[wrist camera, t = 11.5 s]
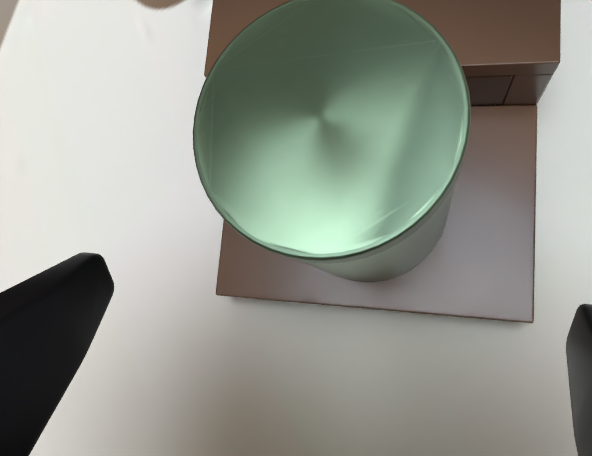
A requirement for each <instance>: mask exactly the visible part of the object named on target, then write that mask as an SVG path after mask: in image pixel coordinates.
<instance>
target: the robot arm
mask: <svg viewBox="0 0 592 456" xmlns="http://www.w3.org/2000/svg"><path fill="white" fill-rule="evenodd" d="M113 292H114V282H113V280H112V277H111V275H110V272H109V270H108V267H107V265H106V262H105V260H104V258H103V257H102V256H101V255H99V254H95V253H79V254H77V255H75V256H73V257H71V258H69V259H67V260H65V261H63V262H61V263H59V264H57V265H55V266H53V267H51V268H49V269H47V270H45V271H43V272H41V273H39V274H37V275H35V276H33V277H31V278H29V279H27V280H25V281H23V282H21V283H19V284H17V285H15V286H13V287H11V288H9V289H7V290H5V291H3V292H1V293H0V456H29V454H30V453H31V451H32V449H33V447H34V446H35V444H36V442H37V440H38V439H39V437H40V435H41V433H42V432H43V430H44V428H45V426H46V425H47V423H48V421H49V419H50V418H51V416H52V414H53V412H54V411H55V409H56V407H57V405H58V404H59V402H60V400H61V398H62V397H63V395H64V393H65V391H66V390H67V388H68V386H69V384H70V383H71V381H72V379H73V377H74V375H75V374H76V372H77V370H78V368H79V367H80V365H81V363H82V361H83V359H84V357H85V355H86V353H87V351H88V349H89V347H90V345H91V343H92V340H93V338H94V336H95V334H96V331H97V329H98V327H99V325H100V322H101V320H102V318H103V316H104V313H105V311H106V309H107V307H108V304H109V302H110V300H111V298H112V295H113ZM566 355H567V366H568V376H569V387H570V397H571V408H572V418H573V428H574V436H575V442H576V447H577V452H578V456H592V305H590V304H582V305H580V306H579V307H578V309H577V311H576V314H575V317H574V319H573V322H572V325H571V328H570V331H569V334H568V337H567V342H566Z"/></svg>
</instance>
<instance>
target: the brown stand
mask: <svg viewBox="0 0 592 456" xmlns="http://www.w3.org/2000/svg"><path fill="white" fill-rule="evenodd" d="M288 1H291V0H213V6H212V14H211V23H210V31H209V39H208V48H207V56H206V64H205V73H204V76H205V77H206V78H207V76H208V74H209V72H210V70H211V68H212V67H213V65H214V64H215V62H216V60H217V59H218V57H219V56H220V54H221V53H222V52H223V51H224V49H225V48H226V47H227V46H228V44H229V43H230V42H231V41H232V40H233V39H234V38H235V37H236V36H237V35H238V34H239V33H240V32H241V31H242V30H243V29H244V28H245V27H247V26H248V25H249V24H250V23H252V22H253V21H254V20H255V19H257V18H258V17H260V16H262V15H263V14H265V13H266V12H268V11H270V10H271V9H273V8H275V7H277V6H279V5H281V4H284V3H286V2H288ZM395 1H397V2H399V3H401V4H404V5H406V6H407V7H409V8H411V9H412V10H414V11H416V12H417V13H419V14H420V15H421V16H423V17H424V18H425V19H426V20H427V21H429V22H430V23H431V24H432V25H434V26H435V28H436V29H437V30H438V31H439V32H440V33H441V34H442V35H443V36H444V38H445V39H446V40H447V42H448V43H449V45H450V46H451V48H452V49H453V51H454V52H455V54H456V56H457V58H458V60H459V62H460V65H461V67H462V69H463V71H464V75H465V78H466V82H467V85H468V90H469V97H470V104H471V105H475V104H497V106H471V125H470V132H469V138H468V144H467V148H466V152H465V156H464V159H463V162H462V165H461V169H460V172H459V174H458V176H457V178H456V183H455V187H454V191H453V195H452V199H451V203H450V207H449V211H448V215H447V220H446V223H445V226H444V230H443V232H442V234H441V237H440V239H439V241H438V242H437V244H436V246H435V247H434V249H433V250H432V251H431V252H430V254H429V255H428V256H427V257H426V258H425V259H424V260H423V261H422V262H421V263H420V264H419V265H417V266H416V267H414V268H413V269H411V270H410V271H408V272H406V273H404V274H402V275H400V276H398V277H395V278H392V279H388V280H384V281H378V282H358V281H352V280H348V279H345V278H342V277H339V276H336V275H334V274H331V273H329V272H326V271H324V270H321V269H319V268H316V267H314V266H311V265H309V264H306V263H304V262H301V261H298V260H293V259H290V258H287V257H284V256H281V255H278V254H275V253H273V252H270V251H268V250H266V249H264V248H262V247H260V246H258V245H255V244H254V243H252V242H251V241H249V240H248V239H246V238H245V237H243V236H242V235H240V234H239V233H238V232H237V231H235V230H234V229H233V228H232V227H231V226H230V225H229V224H228V223H227V222H226V221H225V220H224V223H223V232H222V241H221V250H220V259H219V269H218V278H217V287H216V295H221V296H232V297H243V298H255V299H266V300H277V301H288V302H300V303H311V304H322V305H333V306H345V307H356V308H367V309H378V310H390V311H401V312H412V313H423V314H434V315H446V316H457V317H468V318H479V319H491V320H502V321H513V322H524V323H533V321H534V267H535V207H536V147H537V103H538V101H539V99H540V97H541V96H542V94H543V92H544V90H545V88H546V86H547V85H548V83H549V81H550V79H551V77H552V75H553V74H554V72H555V70H556V68H557V67H558V65H559V63H560V21H561V0H395Z"/></svg>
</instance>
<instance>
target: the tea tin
mask: <svg viewBox="0 0 592 456" xmlns="http://www.w3.org/2000/svg"><path fill="white" fill-rule="evenodd" d="M470 125H471V104H470V97H469V90H468V85H467V82H466V78H465V75H464V71H463V69H462V67H461V65H460V62H459V60H458V58H457V56H456V54H455V52H454V51H453V49H452V48H451V46H450V45H449V43H448V42H447V40H446V39H445V38H444V36H443V35H442V34H441V33H440V32H439V31H438V30H437V29H436V28H435V26H434V25H432V24H431V23H430V22H429V21H427V20H426V19H425V18H424V17H423V16H421V15H420V14H419V13H417V12H416V11H414V10H412V9H411V8H409V7H407V6H406V5H404V4H401V3H399V2H397V1H395V0H291V1H288V2H286V3H284V4H281V5H279V6H277V7H275V8H273V9H271V10H270V11H268V12H266V13H265V14H263V15H262V16H260V17H258V18H257V19H255V20H254V21H253V22H252V23H250V24H249V25H248V26H247V27H245V28H244V29H243V30H242V31H241V32H240V33H239V34H238V35H237V36H236V37H235V38H234V39H233V40H232V41H231V42H230V43H229V44H228V46H227V47H226V48H225V49H224V51H223V52H222V53H221V54H220V56H219V57H218V59H217V60H216V62H215V64H214V65H213V67H212V68H211V70H210V72H209V74H208V76H207V78H206V80H205V82H204V85H203V87H202V90H201V93H200V96H199V99H198V103H197V107H196V112H195V116H194V127H193V149H194V156H195V162H196V167H197V170H198V174H199V177H200V180H201V183H202V185H203V187H204V190H205V192H206V194H207V196H208V198H209V199H210V201H211V203H212V204H213V206H214V207H215V209H216V210H217V212H218V213H219V214H220V215H221V216H222V218H223V219H224V220H225V221H226V222H227V223H228V224H229V225H230V226H231V227H232V228H233V229H234V230H235V231H237V232H238V233H239V234H240V235H242V236H243V237H245V238H246V239H248V240H249V241H251V242H252V243H254V244H255V245H258V246H260V247H262V248H264V249H266V250H268V251H270V252H273V253H275V254H278V255H281V256H284V257H287V258H290V259H293V260H298V261H301V262H304V263H306V264H309V265H311V266H314V267H316V268H319V269H321V270H324V271H326V272H329V273H331V274H334V275H336V276H339V277H342V278H345V279H348V280H352V281H358V282H378V281H384V280H388V279H392V278H395V277H398V276H400V275H402V274H404V273H406V272H408V271H410V270H411V269H413V268H414V267H416V266H417V265H419V264H420V263H421V262H422V261H423V260H424V259H425V258H426V257H427V256H428V255H429V254H430V252H431V251H432V250H433V249H434V247H435V246H436V244H437V242H438V241H439V239H440V237H441V234H442V232H443V230H444V226H445V223H446V220H447V215H448V211H449V207H450V203H451V199H452V195H453V191H454V187H455V183H456V178H457V176H458V174H459V172H460V169H461V165H462V162H463V159H464V156H465V152H466V148H467V144H468V138H469V132H470Z"/></svg>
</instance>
